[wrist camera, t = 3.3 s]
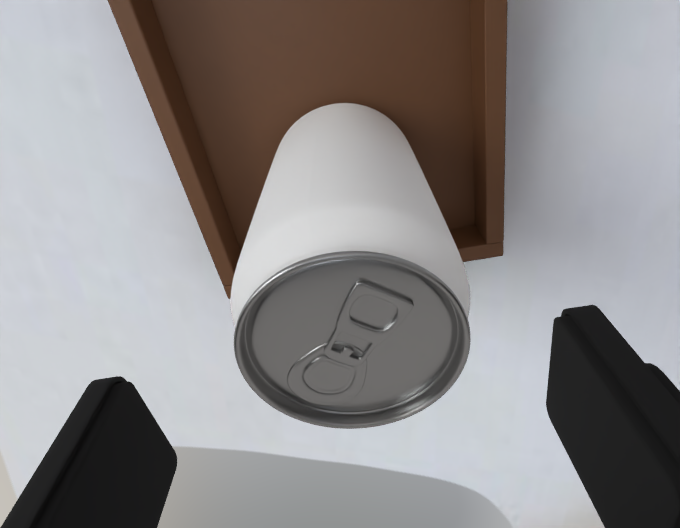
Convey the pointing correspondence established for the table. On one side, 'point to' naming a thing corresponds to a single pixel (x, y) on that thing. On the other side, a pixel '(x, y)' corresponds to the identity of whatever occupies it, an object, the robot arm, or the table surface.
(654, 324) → the table surface
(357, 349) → the can
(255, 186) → the tray
